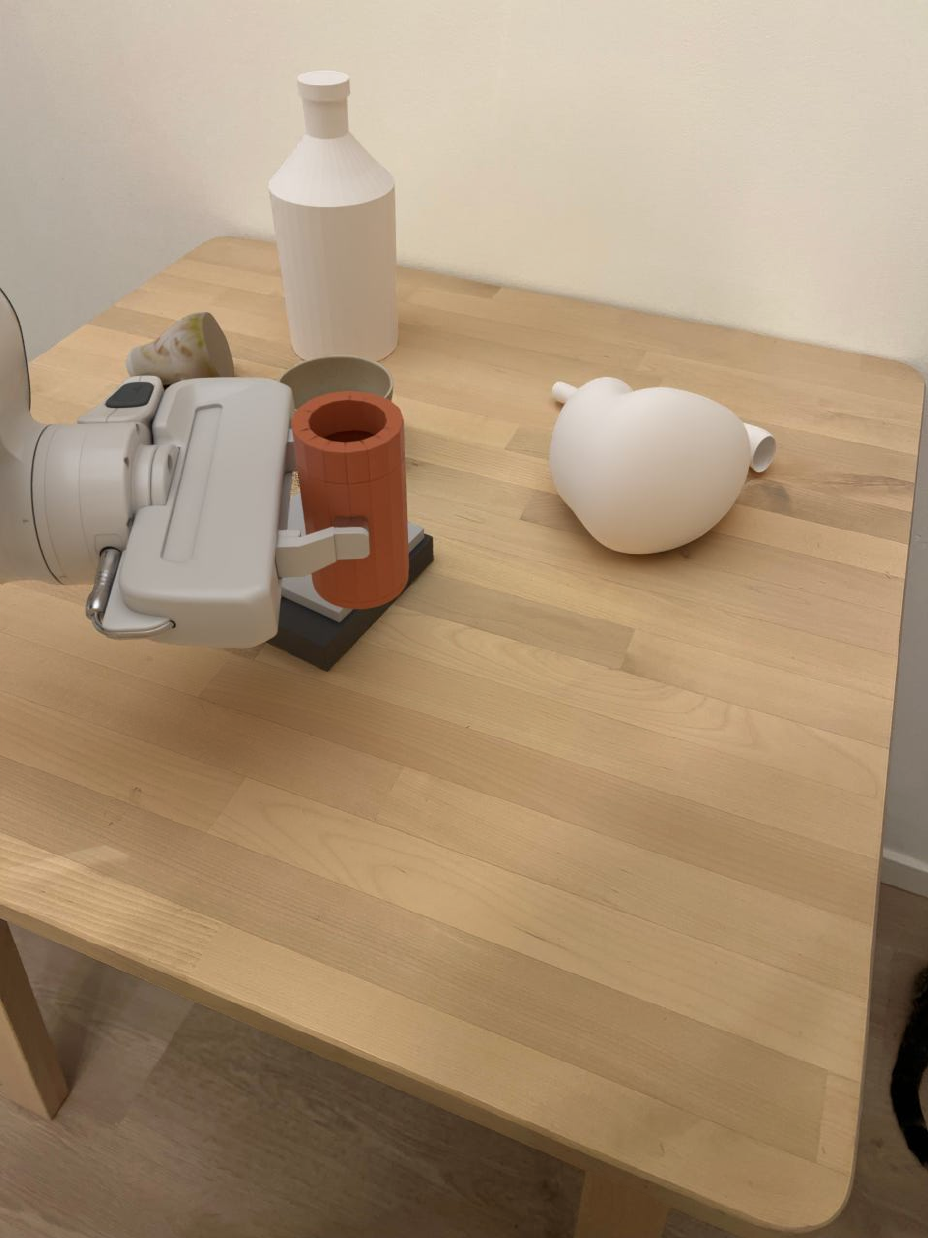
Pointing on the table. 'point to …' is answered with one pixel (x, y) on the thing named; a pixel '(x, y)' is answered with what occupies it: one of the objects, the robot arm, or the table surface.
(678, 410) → the stomach
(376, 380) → the olive grey bowl
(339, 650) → the scale
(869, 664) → the table surface
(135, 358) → the mug
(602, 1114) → the table surface
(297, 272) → the bottle
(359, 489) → the jar
